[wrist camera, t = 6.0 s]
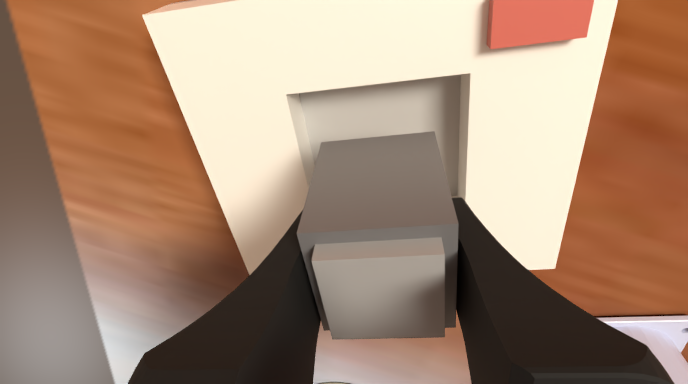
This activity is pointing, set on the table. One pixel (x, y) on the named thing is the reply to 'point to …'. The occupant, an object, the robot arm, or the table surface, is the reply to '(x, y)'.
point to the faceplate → (389, 101)
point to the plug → (381, 238)
